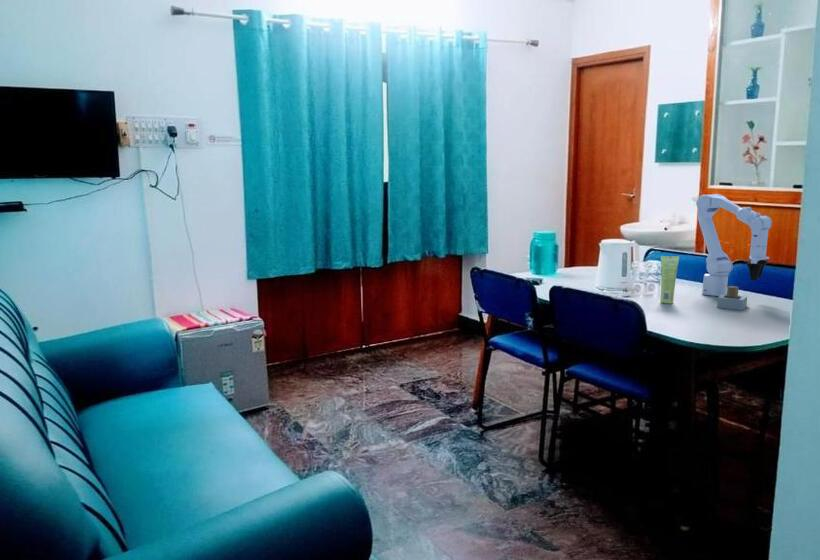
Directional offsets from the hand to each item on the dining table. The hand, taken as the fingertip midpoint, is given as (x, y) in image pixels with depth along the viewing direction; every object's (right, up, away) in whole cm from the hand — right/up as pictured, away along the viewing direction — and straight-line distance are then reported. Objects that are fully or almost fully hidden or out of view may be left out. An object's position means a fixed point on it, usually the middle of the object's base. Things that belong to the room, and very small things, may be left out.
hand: (755, 278), depth 260 cm
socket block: (-13, -11, -5) cm, 18 cm away
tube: (-35, -10, +3) cm, 37 cm away
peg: (-13, -11, -5) cm, 18 cm away
